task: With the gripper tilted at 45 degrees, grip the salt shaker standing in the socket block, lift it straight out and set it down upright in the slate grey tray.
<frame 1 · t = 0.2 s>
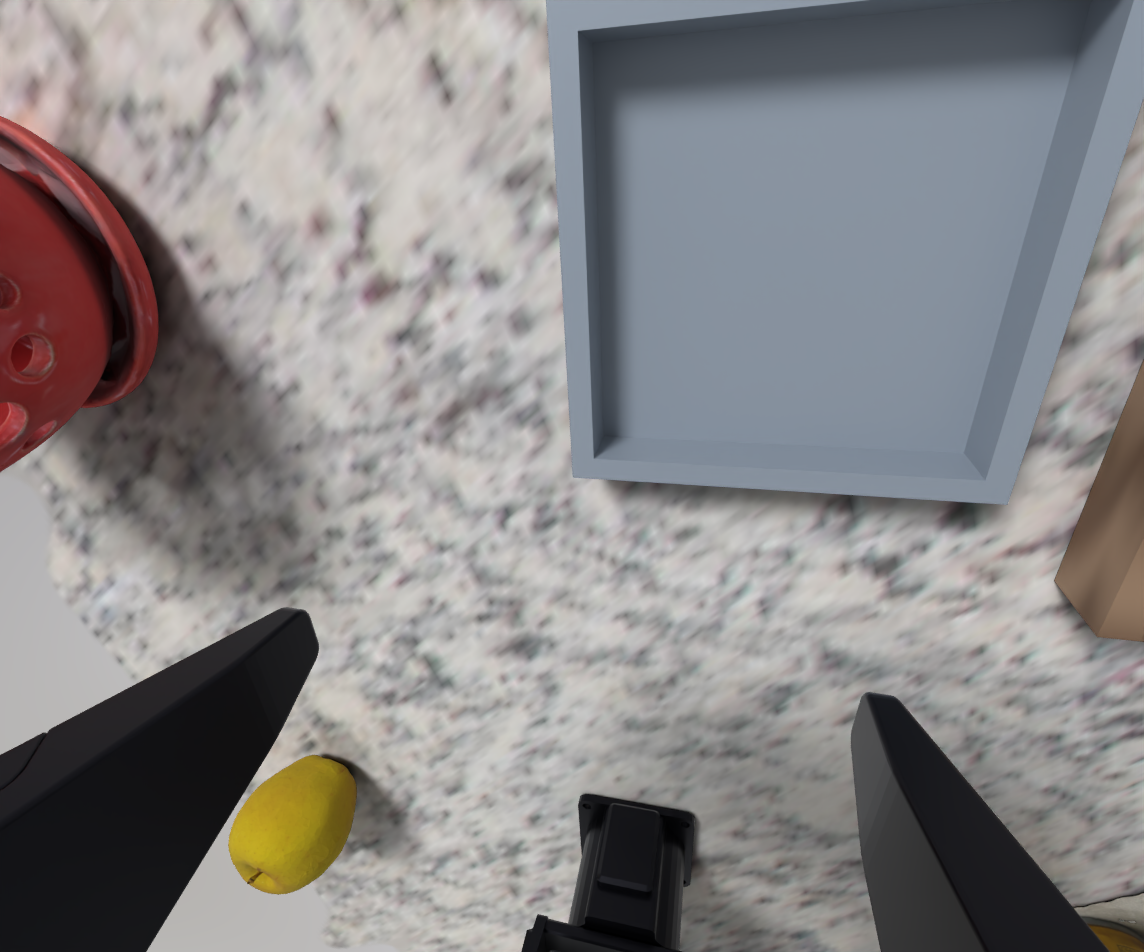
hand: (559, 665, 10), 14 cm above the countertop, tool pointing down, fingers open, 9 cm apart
plant pot: (63, 273, 26), on the countertop
condiment: (1097, 941, 31), on the countertop
apple: (333, 763, 39), on the countertop
tray: (791, 261, 19), on the countertop
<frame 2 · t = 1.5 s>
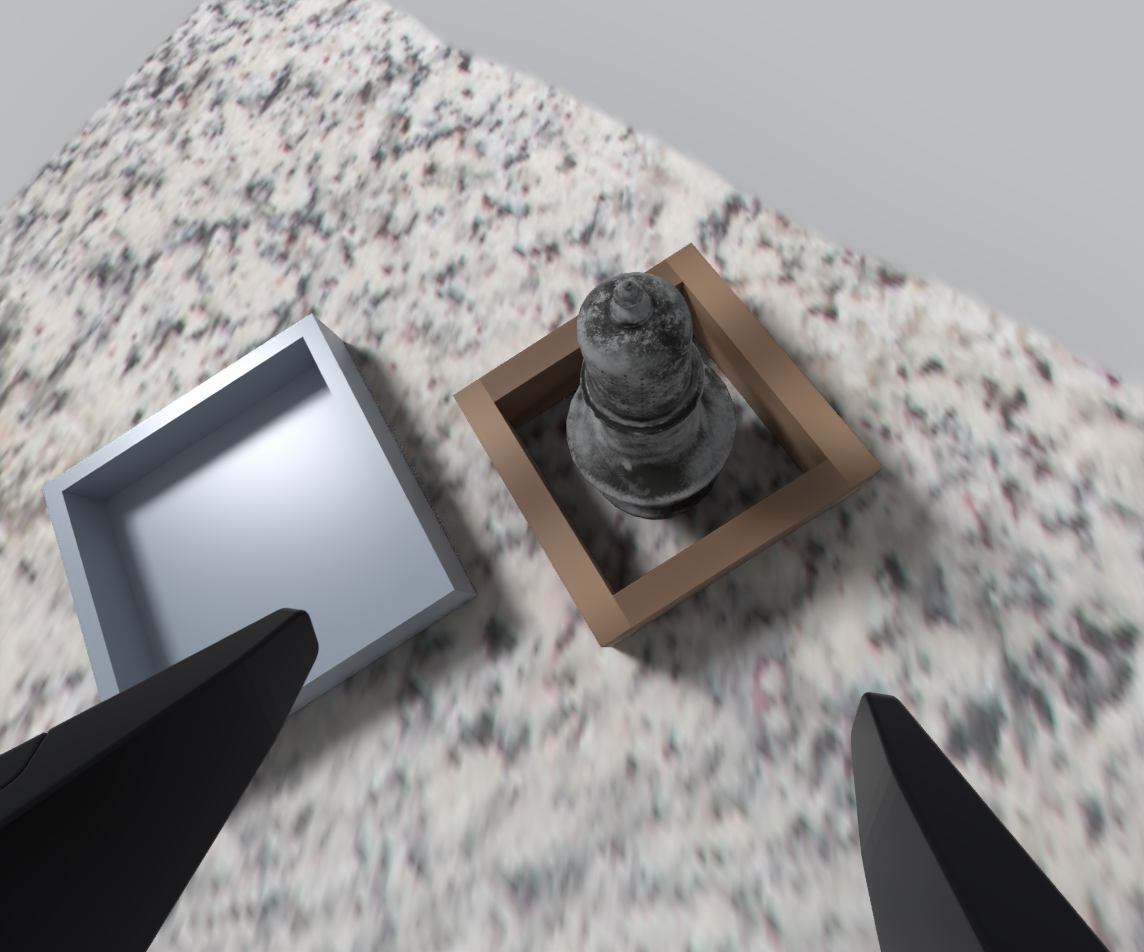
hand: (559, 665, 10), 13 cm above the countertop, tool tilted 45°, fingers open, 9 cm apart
salt shaker: (654, 455, 24), resting in socket block
socket block: (654, 454, 24), on the countertop
tray: (269, 543, 26), on the countertop
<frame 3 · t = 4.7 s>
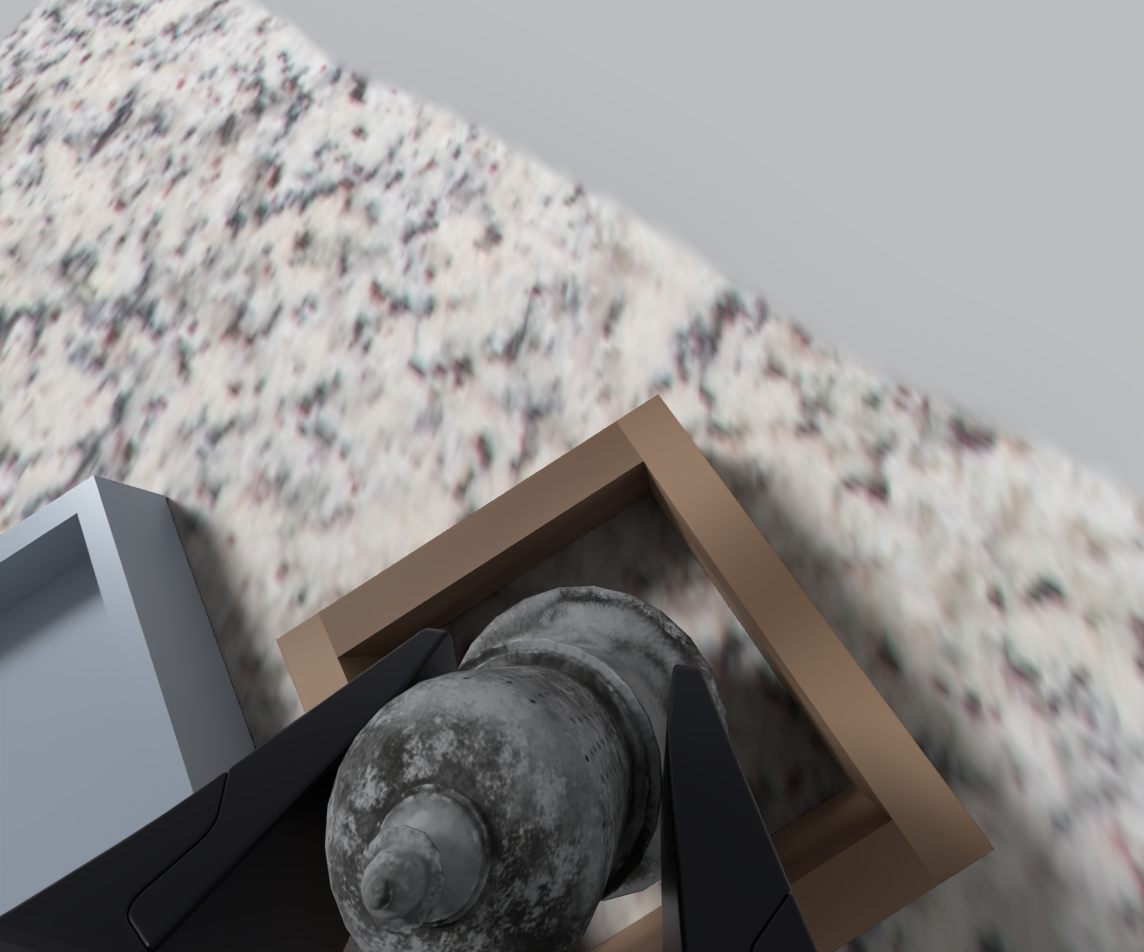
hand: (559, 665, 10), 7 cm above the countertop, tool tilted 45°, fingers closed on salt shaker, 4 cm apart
salt shaker: (604, 713, 16), resting in socket block, touching gripper
socket block: (602, 714, 15), on the countertop
tray: (32, 819, 17), on the countertop
when the fingers open (8 cm above the countertop, at t = 9.0 s): salt shaker stays where it is, resting on tray.
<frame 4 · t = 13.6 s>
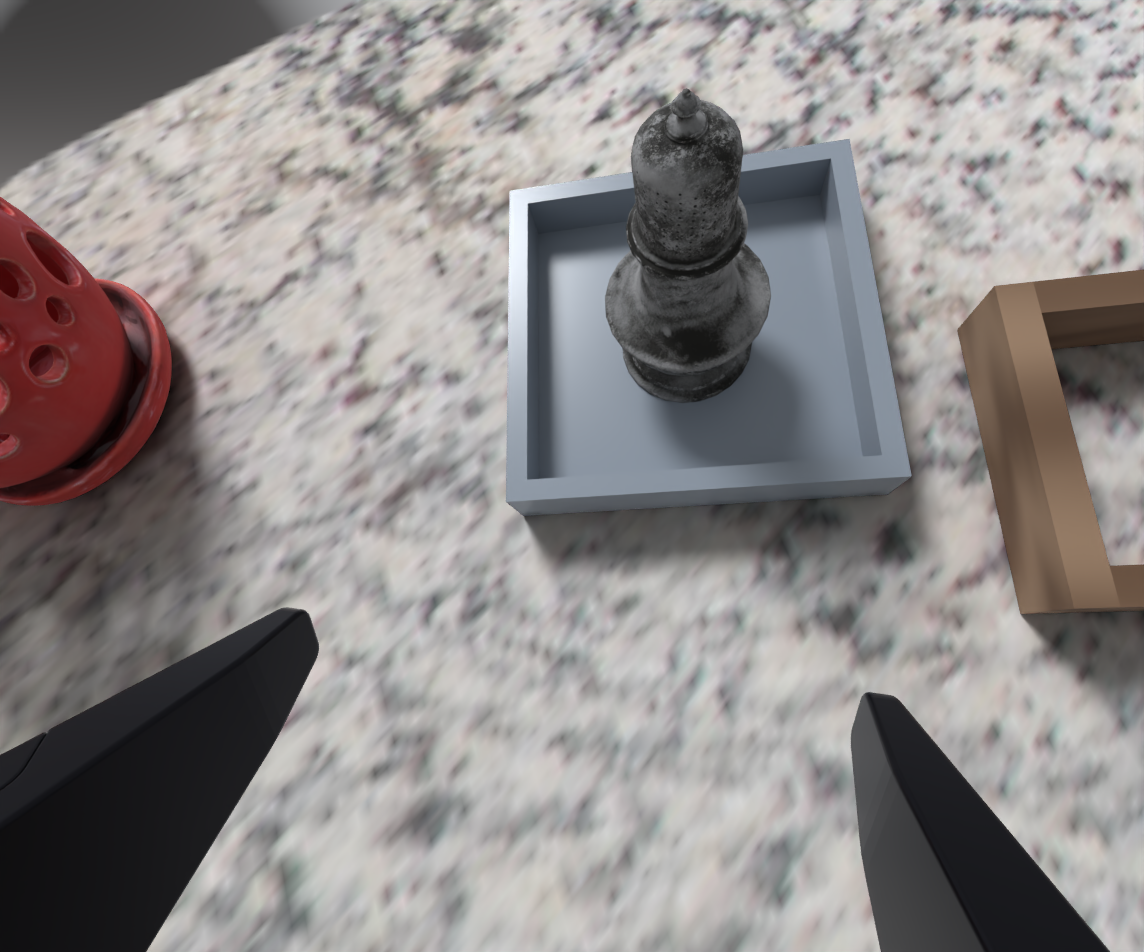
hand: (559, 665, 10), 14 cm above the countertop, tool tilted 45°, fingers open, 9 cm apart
plant pot: (89, 408, 31), on the countertop
salt shaker: (685, 346, 25), resting on tray
tray: (683, 345, 25), on the countertop
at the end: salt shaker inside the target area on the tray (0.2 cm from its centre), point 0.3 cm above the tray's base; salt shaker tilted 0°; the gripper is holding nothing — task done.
